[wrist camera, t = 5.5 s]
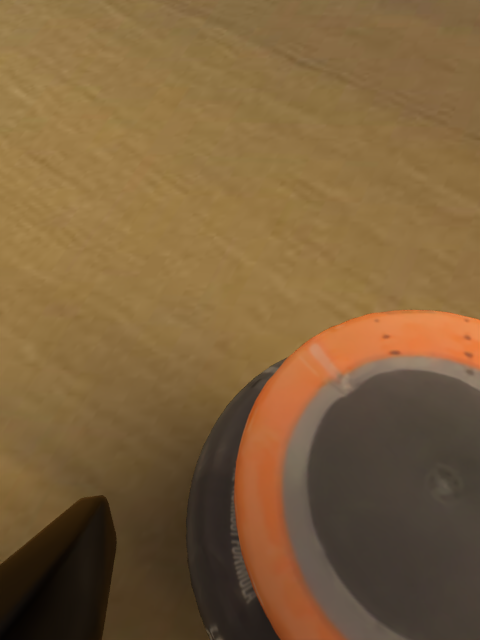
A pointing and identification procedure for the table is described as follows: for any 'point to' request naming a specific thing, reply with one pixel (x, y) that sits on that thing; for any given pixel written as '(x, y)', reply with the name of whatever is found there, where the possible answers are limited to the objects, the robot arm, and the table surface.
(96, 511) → the robot arm
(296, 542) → the pill bottle
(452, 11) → the table surface
